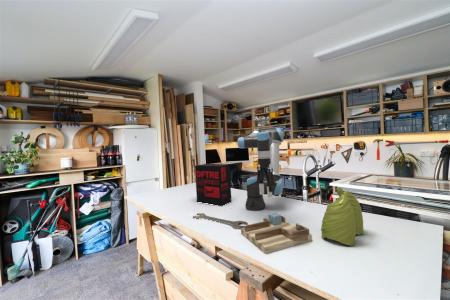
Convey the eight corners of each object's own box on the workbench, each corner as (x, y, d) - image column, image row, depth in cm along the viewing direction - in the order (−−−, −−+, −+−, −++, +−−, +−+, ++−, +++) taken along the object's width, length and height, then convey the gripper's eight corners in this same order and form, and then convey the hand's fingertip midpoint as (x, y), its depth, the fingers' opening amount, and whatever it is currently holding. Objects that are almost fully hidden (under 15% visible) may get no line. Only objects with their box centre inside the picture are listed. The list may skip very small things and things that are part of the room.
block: (269, 222, 124) (268, 214, 124) (276, 221, 126) (275, 212, 126) (274, 225, 119) (273, 216, 119) (281, 224, 121) (281, 215, 121)
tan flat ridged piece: (241, 233, 118) (240, 222, 118) (281, 224, 128) (281, 214, 128) (265, 253, 96) (264, 240, 96) (312, 240, 106) (311, 228, 106)
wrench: (189, 218, 148) (189, 215, 148) (200, 214, 156) (200, 211, 156) (241, 231, 123) (241, 228, 122) (250, 225, 131) (250, 222, 131)
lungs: (335, 224, 124) (334, 183, 123) (367, 231, 113) (365, 186, 112) (316, 239, 107) (314, 191, 106) (351, 250, 96) (349, 196, 95)
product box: (197, 202, 186) (194, 165, 185) (207, 198, 198) (205, 163, 197) (221, 206, 171) (219, 166, 170) (231, 201, 182) (229, 164, 181)
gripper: (250, 157, 137) (251, 193, 138) (268, 159, 118) (270, 200, 119) (260, 156, 140) (261, 191, 141) (279, 158, 121) (281, 198, 122)
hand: (265, 195), depth 130 cm, fingers open, 8 cm apart
